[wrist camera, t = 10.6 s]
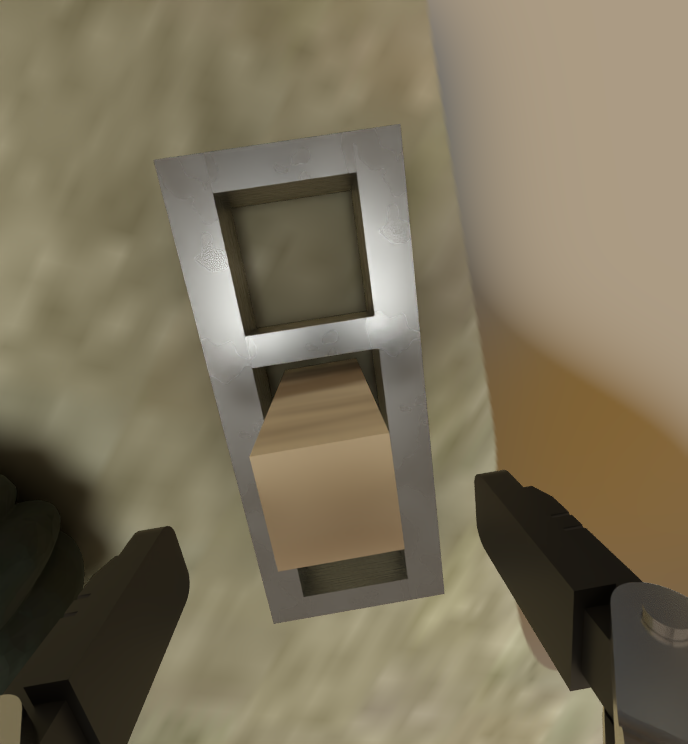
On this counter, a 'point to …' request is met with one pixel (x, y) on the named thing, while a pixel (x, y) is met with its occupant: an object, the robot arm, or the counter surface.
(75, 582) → the squash
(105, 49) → the counter surface
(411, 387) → the gray slotted tray
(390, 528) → the square peg
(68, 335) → the counter surface
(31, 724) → the robot arm
